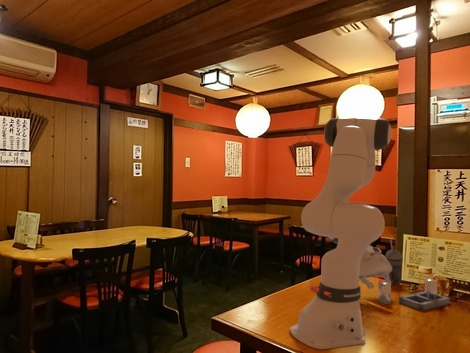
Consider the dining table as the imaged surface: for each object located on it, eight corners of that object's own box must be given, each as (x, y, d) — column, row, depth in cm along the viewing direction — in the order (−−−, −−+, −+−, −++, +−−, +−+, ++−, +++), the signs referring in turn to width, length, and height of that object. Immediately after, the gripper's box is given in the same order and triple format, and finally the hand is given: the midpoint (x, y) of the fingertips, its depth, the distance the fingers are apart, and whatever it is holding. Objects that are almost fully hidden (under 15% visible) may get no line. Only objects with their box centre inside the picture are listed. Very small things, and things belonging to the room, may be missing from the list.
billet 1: (385, 307, 123) (385, 285, 123) (376, 304, 127) (376, 282, 127) (393, 305, 125) (393, 283, 125) (383, 302, 129) (384, 281, 129)
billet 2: (432, 304, 124) (432, 282, 124) (422, 300, 128) (422, 279, 128) (439, 302, 126) (439, 280, 126) (429, 299, 130) (429, 277, 130)
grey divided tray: (421, 313, 118) (421, 305, 118) (398, 305, 126) (398, 297, 126) (449, 306, 125) (449, 298, 125) (426, 298, 133) (426, 290, 133)
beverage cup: (404, 288, 146) (405, 241, 146) (386, 286, 147) (386, 240, 148) (400, 283, 153) (400, 238, 153) (382, 282, 154) (383, 237, 155)
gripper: (345, 252, 130) (365, 285, 121) (382, 248, 139) (403, 278, 130) (336, 261, 134) (355, 294, 125) (373, 256, 143) (393, 286, 134)
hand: (380, 286), depth 128 cm, fingers open, 8 cm apart
